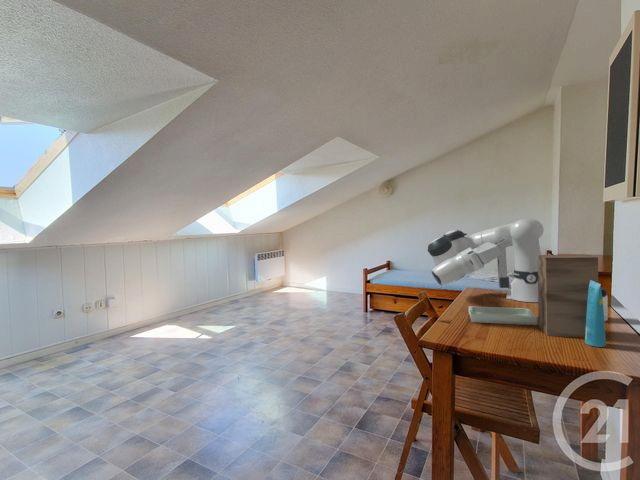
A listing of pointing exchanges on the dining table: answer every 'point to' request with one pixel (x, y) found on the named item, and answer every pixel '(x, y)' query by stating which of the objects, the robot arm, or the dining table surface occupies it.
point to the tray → (502, 315)
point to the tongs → (502, 269)
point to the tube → (595, 317)
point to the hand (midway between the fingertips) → (507, 240)
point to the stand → (564, 293)
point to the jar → (605, 303)
